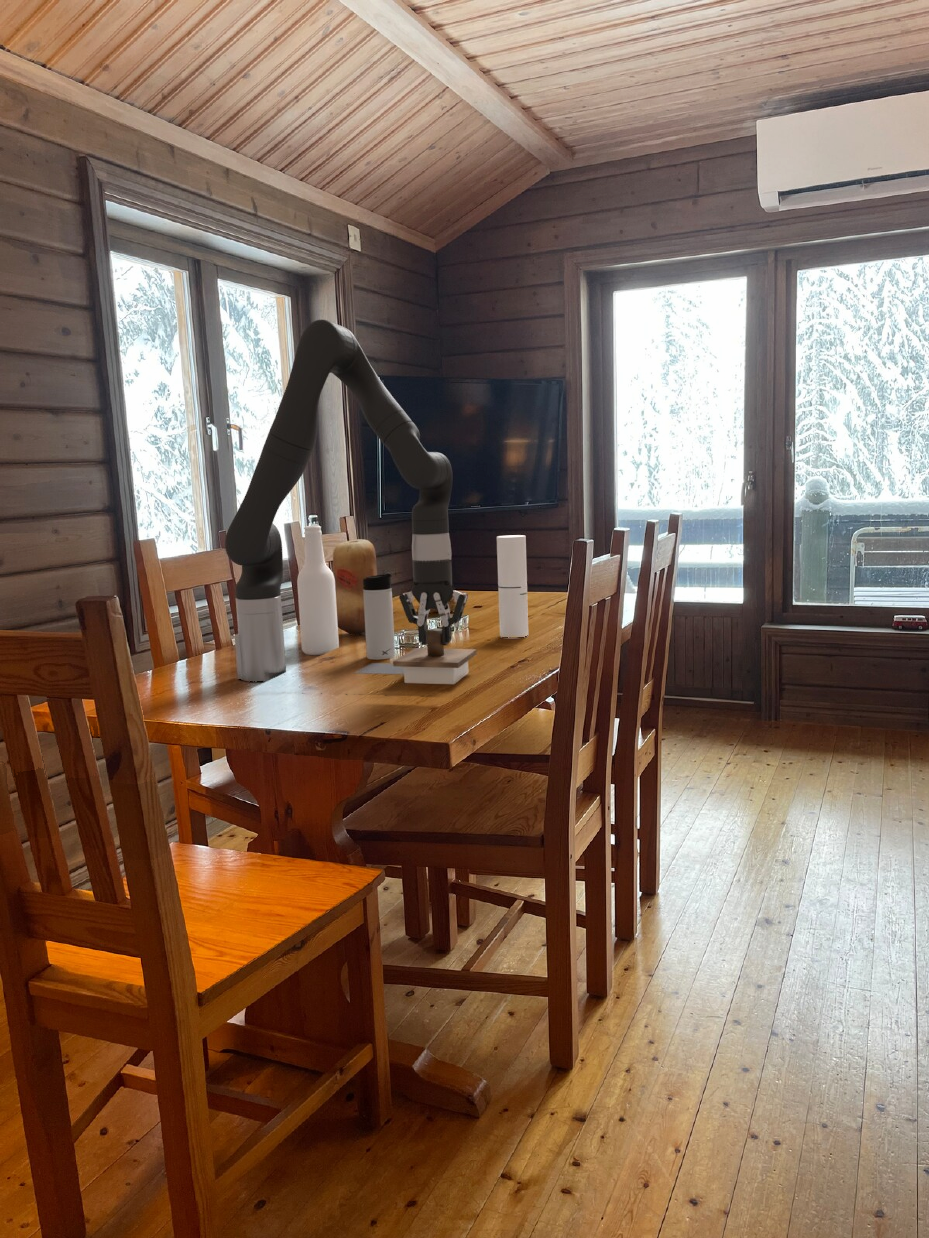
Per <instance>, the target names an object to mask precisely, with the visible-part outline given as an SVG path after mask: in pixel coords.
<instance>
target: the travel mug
mask: <svg viewBox="0 0 929 1238" xmlns="http://www.w3.org/2000/svg"><path fill="white" fill-rule="evenodd" d="M393 575H394V574H393V572H388V573H385V574H384V573H382V574H377V575H376V576H370V577H366V579H363V585H364V586H363V592H364V593H363V596H364V614H365V631H366V634H365V648H366V656H367V657H366V658H367V659H369V660H388V659H392V658H395V657H396V650H395V648H396V647H395V630H394V629H395V627H394V609H393V592H392V589H393V588H392V585H391V584H392V577H393Z"/></svg>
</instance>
